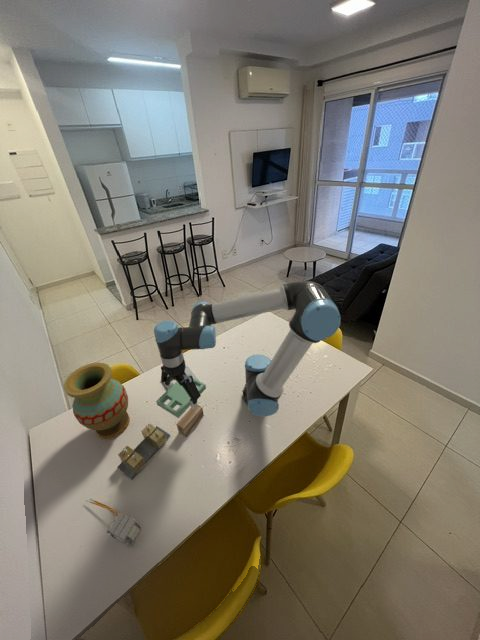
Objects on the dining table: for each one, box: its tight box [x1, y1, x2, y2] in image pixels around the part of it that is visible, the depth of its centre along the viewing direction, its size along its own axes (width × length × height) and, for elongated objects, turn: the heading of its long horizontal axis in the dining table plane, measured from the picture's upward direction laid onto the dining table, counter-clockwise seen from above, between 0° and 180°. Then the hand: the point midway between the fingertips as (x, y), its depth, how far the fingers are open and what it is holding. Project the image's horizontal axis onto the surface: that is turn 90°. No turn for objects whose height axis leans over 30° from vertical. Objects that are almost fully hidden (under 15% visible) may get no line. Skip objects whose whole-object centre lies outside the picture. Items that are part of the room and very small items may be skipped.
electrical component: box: [85, 498, 142, 548], centre depth 84 cm, size 24×6×5 cm, turn 68°
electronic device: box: [162, 365, 200, 389], centre depth 131 cm, size 18×2×15 cm
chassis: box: [116, 423, 171, 481], centre depth 101 cm, size 9×20×8 cm, turn 148°
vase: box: [63, 362, 130, 440], centre depth 106 cm, size 20×20×30 cm
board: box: [155, 375, 207, 419], centre depth 101 cm, size 11×16×2 cm
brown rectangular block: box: [176, 403, 204, 438], centre depth 111 cm, size 4×12×6 cm, turn 148°
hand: (183, 400), depth 103 cm, fingers closed on board, 11 cm apart
